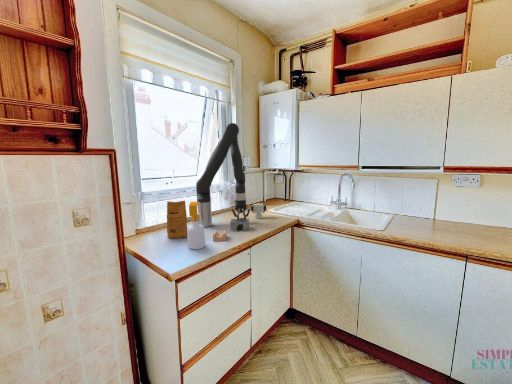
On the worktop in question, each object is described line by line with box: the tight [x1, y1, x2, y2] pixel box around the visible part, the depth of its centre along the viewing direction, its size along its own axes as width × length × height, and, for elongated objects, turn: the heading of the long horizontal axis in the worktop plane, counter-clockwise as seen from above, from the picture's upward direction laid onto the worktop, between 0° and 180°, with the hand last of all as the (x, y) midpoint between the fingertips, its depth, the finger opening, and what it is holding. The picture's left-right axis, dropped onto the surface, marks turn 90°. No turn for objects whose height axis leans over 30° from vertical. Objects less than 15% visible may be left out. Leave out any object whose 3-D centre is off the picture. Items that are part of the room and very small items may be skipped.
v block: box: [212, 229, 227, 242], centre depth 137 cm, size 7×7×4 cm
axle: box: [237, 217, 244, 230], centre depth 162 cm, size 16×4×4 cm, turn 179°
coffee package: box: [166, 200, 188, 239], centre depth 142 cm, size 10×12×22 cm
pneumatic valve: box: [250, 202, 267, 220], centre depth 179 cm, size 6×12×12 cm, turn 91°
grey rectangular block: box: [229, 218, 250, 232], centre depth 154 cm, size 7×12×6 cm, turn 91°
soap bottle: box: [186, 201, 206, 250], centre depth 124 cm, size 9×9×25 cm
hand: (241, 222), depth 169 cm, fingers closed on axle, 3 cm apart
